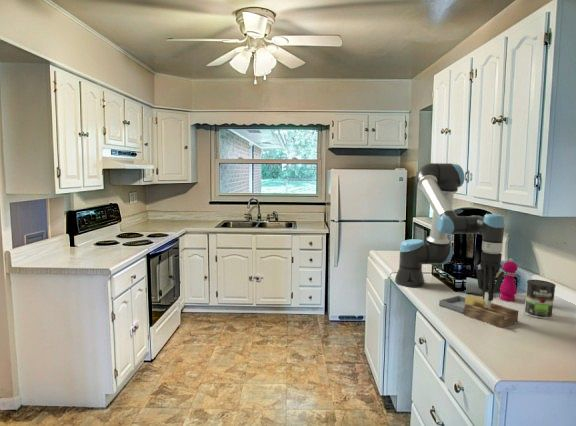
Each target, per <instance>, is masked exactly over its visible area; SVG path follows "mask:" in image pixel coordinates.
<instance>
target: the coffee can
mask: <svg viewBox="0 0 576 426" xmlns="http://www.w3.org/2000/svg"><path fill="white" fill-rule="evenodd" d="M526 283H527V286H526V293H525V303H524V305H525V306H524V314H525V315H527V316H528V317H529V316H530V317H532V318H536V319H540V320H550V319H552V318H553V309H554V300H555V292H556V291H555V290H556V284H555V283H553V282H551V281H546V280H541V279H528V280H527V281H526Z"/></svg>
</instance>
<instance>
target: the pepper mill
mask: <svg viewBox="0 0 576 426" xmlns="http://www.w3.org/2000/svg"><path fill="white" fill-rule="evenodd" d="M502 269H503V270H504V271H506V272H507V274H506V275H505V276H504V278H503V281H502V284H501V287H500V290H499V292H500V293H501V294H500V295H499V297H500V300H502V301H505V302H516V296H515V295H517V293H518V288H517V286H516V282H515V276H516V273H517V270H518V264H517V263H516V262H514V259H513V258H508V261H505V262H504V263H503V265H502Z"/></svg>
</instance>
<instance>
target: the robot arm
mask: <svg viewBox="0 0 576 426" xmlns="http://www.w3.org/2000/svg"><path fill="white" fill-rule="evenodd" d="M464 183H465V173H464V170H463V168H462V166H461V165H460V164H458V163H448V162H447V163H441V162H439V163H434V162H432V163H430V162H428V163H426V164H424V165H422V166H421V167H420V168H418V170H417V172H416V175H415V184H416V186H417V188H418V189H419V190H420V191H422V192H423V195H424V197H426V200H427V201H428V202H427V203H429V205H430V207H431V208H432V211H433V212H432V220H431V228H430V233H429V236H427V237H426V242H424V240H423V239H419V238H416V239H414V238H411V239H406V240H405V239H404V240H403V241H401V243H400V248H399V262H398V263H399V265H398V266H399V267H398V270H397V272H396V275H395V278H394V283H396V284H397V285H400V286H402V287H403V286H404V287H409V288H419V287H420V288H421V287H423V286H424V285H425V278H424V274H423V265H438V266H440V265H446V264H449V262H451V260H452V258H453V256H454V255H453V254H454V250H453V245H452V243H450V240H449V238H448V236H449V235H450V234H452V235H454V234H457V235H459V234H467V235H469V234H470V235H471V234H472V235H473V234H474V235H476V234H478V235H481V236H482V238H481V239H482V242H481V251H480V252H481V253H480V260H481V261H480V262H479V264H478V265H474V266H473V267H474V270H475V272H476V279H477V280H478V287H479V289H481V290H483V294H482V298H483V299H484V308H490V307H491V303H492V301H494V294H496V293H499V292H500V287H501V285H502V283H503V281H504V278H505V275H506V274H507V272H506V271H505V270H504V268H503V266H502V264H501V263H502V255H503V253H502V252H503V243H504V242H503V241H504V233H505V232H504V231H505V225H506V224H505V217H504V215H502V214H496V213H487V214H485V215H484V216H481V215H469V216H467V215H466V216H465V215H457V213H456V212H455V211H454V209H453V200H454V194H456V193H457V192H458V190H459V188H460V187H462V186H463V184H464ZM497 274H498V276H497Z"/></svg>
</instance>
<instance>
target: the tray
mask: <svg viewBox="0 0 576 426" xmlns="http://www.w3.org/2000/svg"><path fill="white" fill-rule="evenodd" d="M465 297H466V296H461V295H455V296H451V297H447V298H444V299H439V303H438V306H439V307H441V308H445V309H448V310H450V311H454V312H457V313H459V314H463V315H464V309H465Z"/></svg>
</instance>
